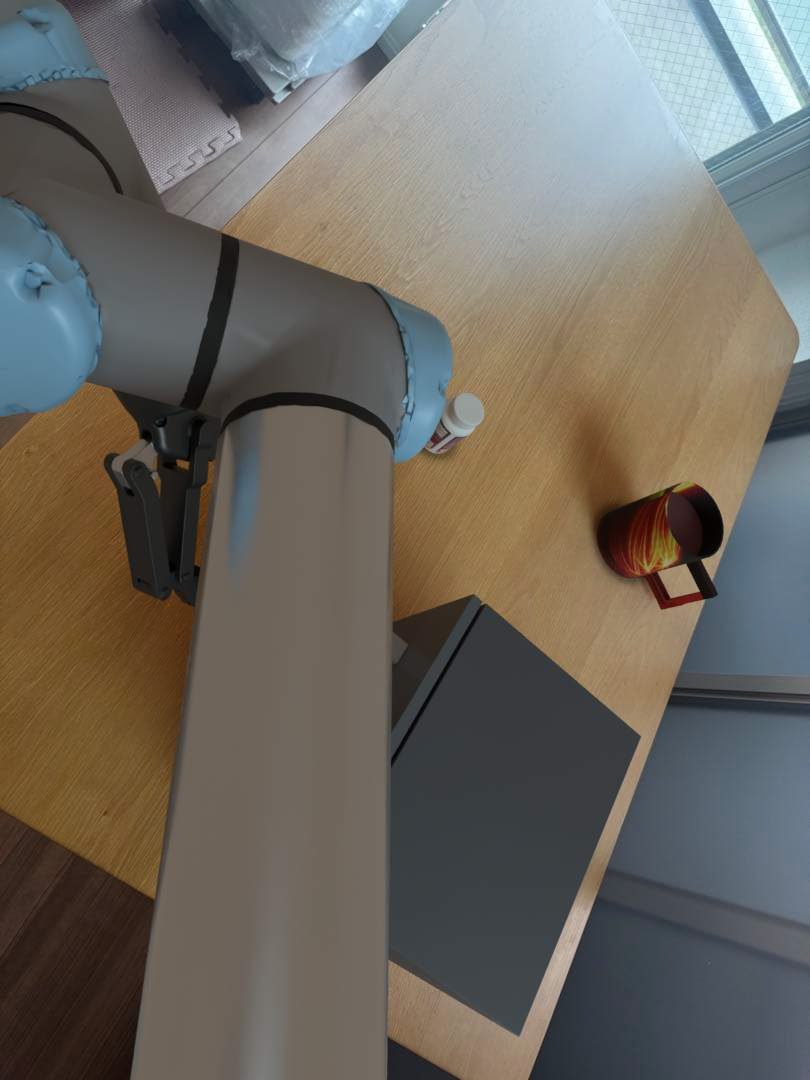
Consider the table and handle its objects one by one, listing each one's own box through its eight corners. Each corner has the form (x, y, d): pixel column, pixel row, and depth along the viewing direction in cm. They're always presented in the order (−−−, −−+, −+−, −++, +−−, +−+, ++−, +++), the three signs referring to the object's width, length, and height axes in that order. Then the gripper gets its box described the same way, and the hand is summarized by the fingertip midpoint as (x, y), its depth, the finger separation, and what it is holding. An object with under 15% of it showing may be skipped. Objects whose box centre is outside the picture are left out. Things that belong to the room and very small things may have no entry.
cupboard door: (163, 805, 65) (225, 832, 45) (313, 598, 76) (417, 544, 56) (226, 848, 67) (313, 893, 46) (363, 639, 78) (483, 601, 57)
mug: (656, 613, 98) (730, 597, 87) (586, 545, 95) (654, 520, 85) (681, 561, 102) (754, 540, 92) (615, 495, 100) (682, 466, 89)
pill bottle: (453, 426, 90) (490, 398, 83) (447, 460, 89) (484, 434, 81) (420, 411, 88) (454, 382, 81) (413, 446, 87) (448, 418, 80)
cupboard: (227, 849, 67) (316, 895, 46) (365, 641, 78) (486, 603, 57) (375, 952, 70) (519, 1037, 50) (486, 738, 82) (641, 736, 61)
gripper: (233, 209, 50) (325, 437, 66) (-57, 460, 38) (141, 661, 54) (320, 217, 46) (395, 455, 62) (30, 495, 34) (214, 700, 50)
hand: (277, 551), depth 58 cm, fingers open, 13 cm apart
